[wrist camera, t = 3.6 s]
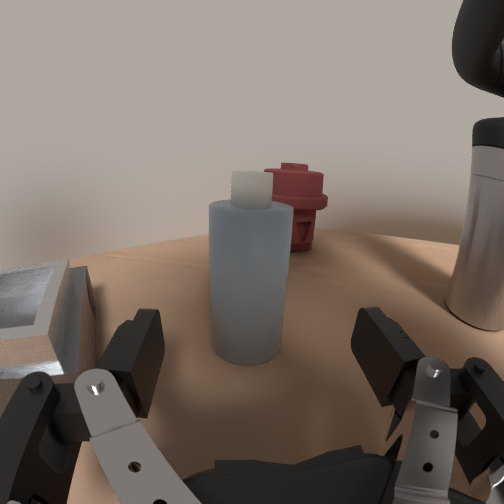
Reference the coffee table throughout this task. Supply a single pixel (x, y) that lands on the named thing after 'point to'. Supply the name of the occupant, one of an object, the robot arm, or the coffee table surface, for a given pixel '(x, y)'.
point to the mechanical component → (299, 199)
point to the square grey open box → (45, 324)
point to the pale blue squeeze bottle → (248, 269)
